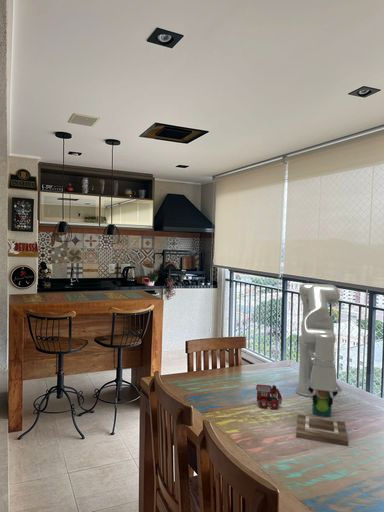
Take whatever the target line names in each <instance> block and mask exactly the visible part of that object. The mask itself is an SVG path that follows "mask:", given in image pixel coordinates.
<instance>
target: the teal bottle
mask: <svg viewBox="0 0 384 512" xmlns="http://www.w3.org/2000/svg"><path fill="white" fill-rule="evenodd" d="M312 367H313V364H312V365H311V372H312ZM318 391H319V390H318ZM328 396H330V393H329V395H328ZM318 399H319V398H318V397H317V395H316V401H317V400H318ZM326 400H327V401H328V403H329V397H328V398H327V399H326ZM332 407H333V405H331V407H329V408H328V410H327V411H325V412H321V411H319V410H318V409H317V408H316V405H314V402H312V409H311V413H312V415H315V416H320V417H328V418H329V417H331V416H332Z"/></svg>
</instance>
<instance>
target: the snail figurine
mask: <svg viewBox="0 0 384 512" xmlns="http://www.w3.org/2000/svg"><path fill="white" fill-rule="evenodd" d="M316 395H317V397H318V398H319V399H318V400H317V401H316V408H317V409H318V410H319V411H321V412H325V411H327V410H328V408H329V403H328V401H327V400H326V399H327V398H328V397H329V396H328V395H329V391H321V390H319V391H318V390H316Z"/></svg>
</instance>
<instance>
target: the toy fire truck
mask: <svg viewBox="0 0 384 512" xmlns="http://www.w3.org/2000/svg"><path fill="white" fill-rule="evenodd" d="M255 387H256V402H257V403H258V404H259V407H260V408H261V409H267V407H270V408H271V409H272V410H277V409H278V408H279V406H280V405H282V402H283V397H282V395H281V393H280V391H279V388H277V386H276V385H275V384H274V385H270V384H260V383H259V384H256V386H255Z"/></svg>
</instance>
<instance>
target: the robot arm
mask: <svg viewBox="0 0 384 512" xmlns="http://www.w3.org/2000/svg"><path fill="white" fill-rule="evenodd" d="M299 297H300V300H301V302H302V321H301V326H300V327H301V329H300V330H301V331H300V332H301V335H300V336H299V338H298V346H299V347H298V348H299V367H298V369H299V371H298V372H299V373H298V386H297V387H295V392H296V393H297V394H298V395H300V396H303V397H312V401H311V402H312V403H313V402H314V405H316V390H321V391H329V393H330V396H329V407H331V405H332V406H333V402H334V401H333V400H334V398H335V397H336V396H337V395H338V394H339V393H341V392H343V390H342V389H343V388H341V386H340V385H339V384H338V382H337V371H336V366H335V364H334V363H335V362H334V360H335V344H336V338H337V337H336V334H335V331H334V330H335V328H334V327H335V322H334V318H333V317H332V316H331V315H330V314H329V306H328V304H337V303H338V302H339V301H340V291H339V288H338V287H337V286H335V284H326V283H311V282H310V283H308V282H307V283H302V284H301V285H300V286H299ZM312 364H313V367H312V372H311V365H312Z"/></svg>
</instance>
